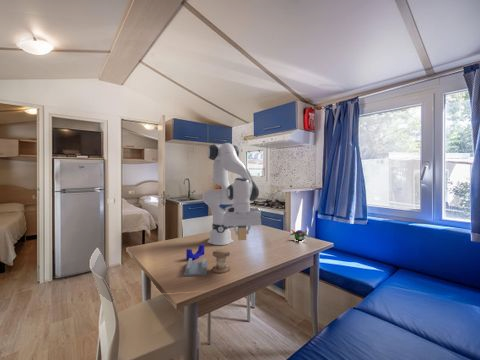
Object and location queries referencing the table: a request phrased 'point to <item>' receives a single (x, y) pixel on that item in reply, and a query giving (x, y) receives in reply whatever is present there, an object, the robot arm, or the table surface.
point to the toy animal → (299, 235)
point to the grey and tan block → (241, 232)
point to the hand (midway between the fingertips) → (241, 234)
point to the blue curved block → (197, 254)
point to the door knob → (221, 261)
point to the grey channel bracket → (196, 268)
